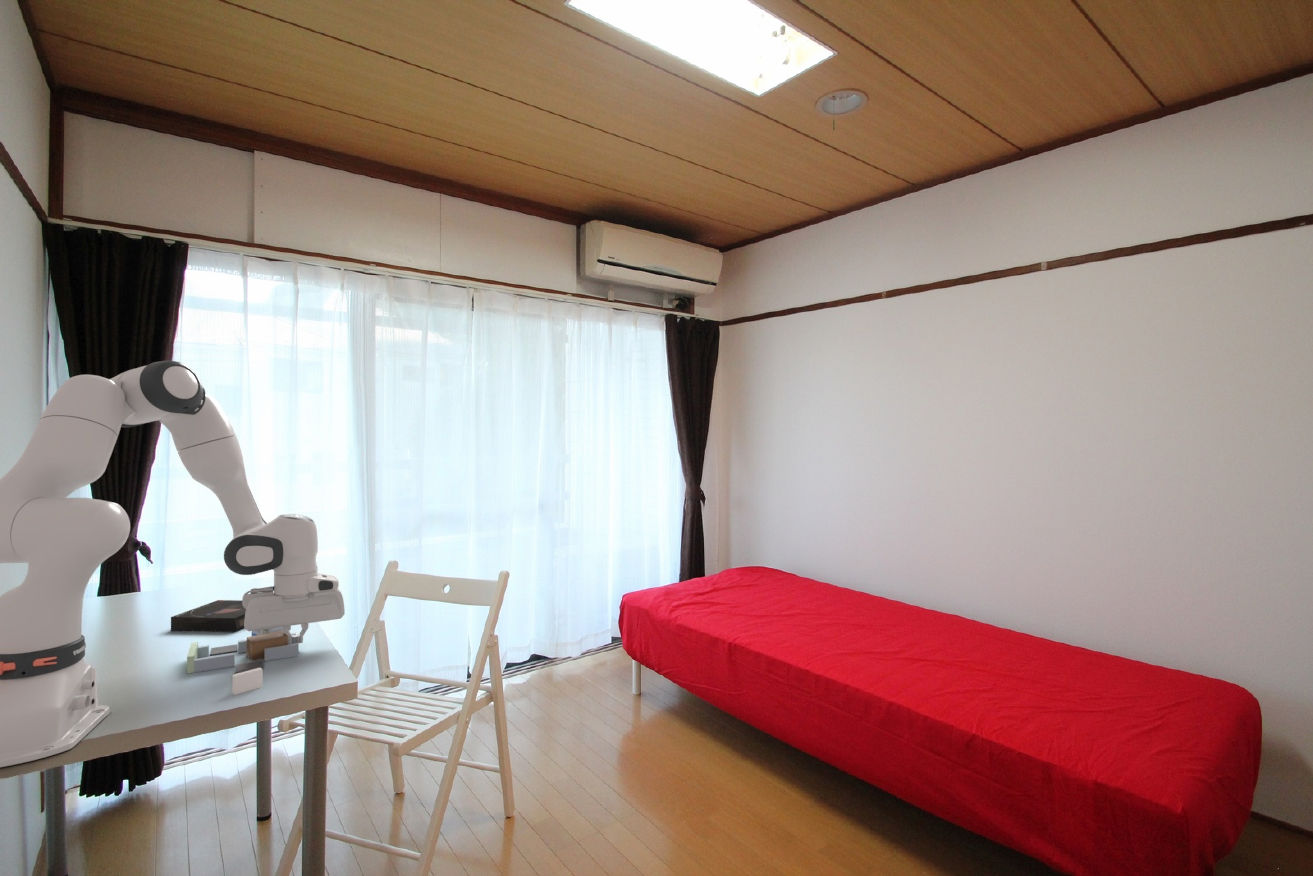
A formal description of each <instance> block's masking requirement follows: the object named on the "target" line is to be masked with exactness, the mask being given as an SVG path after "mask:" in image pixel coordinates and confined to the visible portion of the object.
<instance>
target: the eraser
mask: <svg viewBox="0 0 1313 876" xmlns="http://www.w3.org/2000/svg"><path fill="white" fill-rule="evenodd" d="M263 669H264V668H263ZM263 669H262V668H256V669H253V670H249V671H245V672H241V673H234V674H232V676H231V678H232V682H231V685H232V686H231V689H232V690H231V692H232V694H233V695H238V694H243V693H246V692H248V691H253V690H256V689H259V688H263V677H264V675H263Z"/></svg>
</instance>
